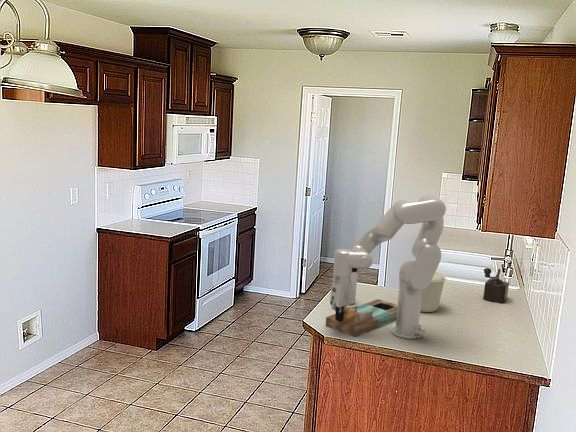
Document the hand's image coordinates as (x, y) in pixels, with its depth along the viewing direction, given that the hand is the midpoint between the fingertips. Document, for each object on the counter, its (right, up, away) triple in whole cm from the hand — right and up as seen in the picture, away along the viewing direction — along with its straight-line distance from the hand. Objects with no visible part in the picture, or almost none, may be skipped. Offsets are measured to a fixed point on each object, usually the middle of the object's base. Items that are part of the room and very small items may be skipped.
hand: (339, 320), depth 240 cm
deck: (+15, -3, +17) cm, 22 cm away
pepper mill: (+85, 0, +56) cm, 102 cm away
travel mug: (+8, +1, +39) cm, 40 cm away
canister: (+44, -1, +37) cm, 58 cm away
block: (+4, -1, +4) cm, 5 cm away
